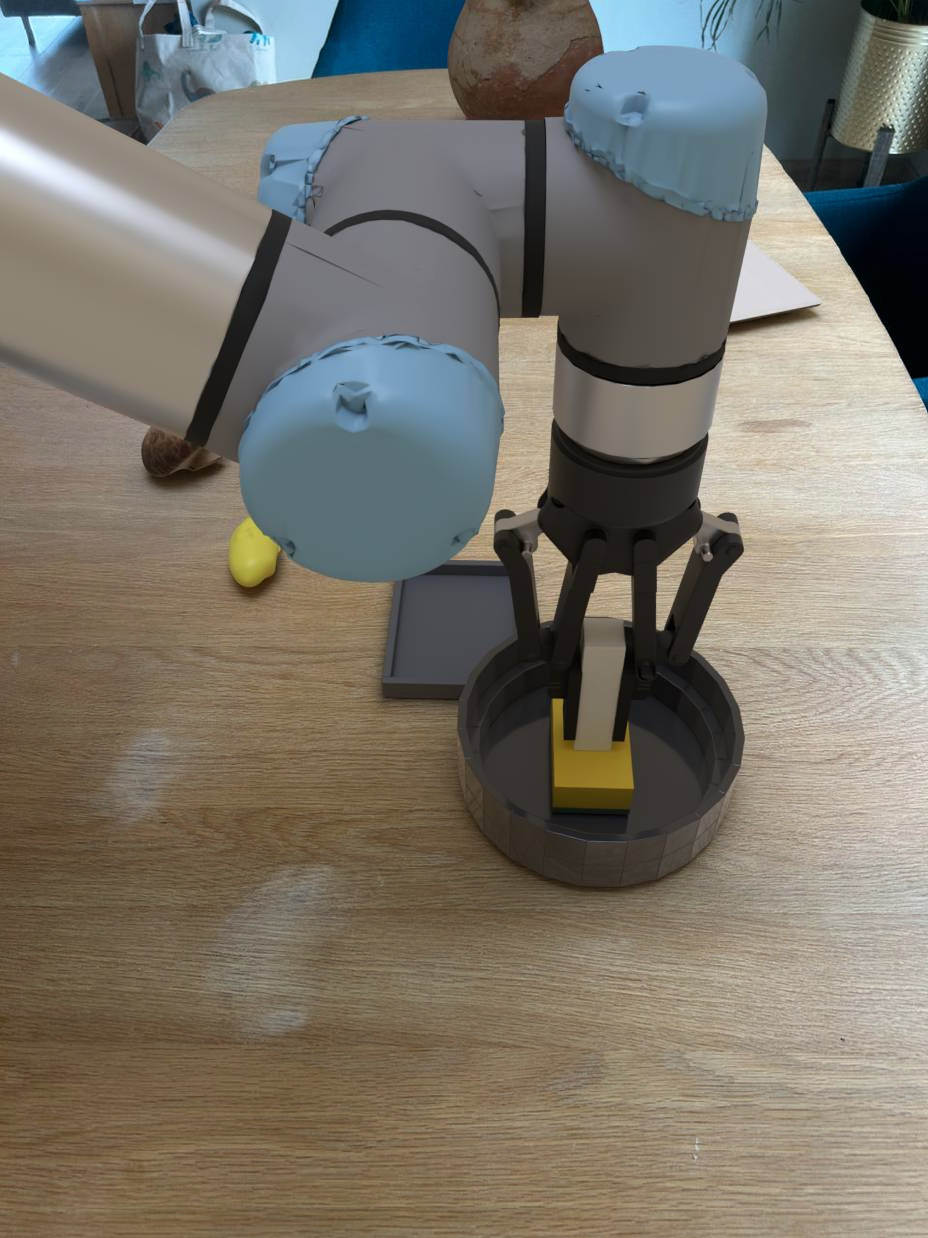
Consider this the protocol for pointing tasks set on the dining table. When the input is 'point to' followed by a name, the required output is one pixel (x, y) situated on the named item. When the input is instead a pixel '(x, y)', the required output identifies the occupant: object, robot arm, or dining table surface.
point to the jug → (520, 56)
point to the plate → (767, 289)
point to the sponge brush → (594, 730)
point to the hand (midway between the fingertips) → (593, 723)
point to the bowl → (661, 763)
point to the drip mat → (445, 627)
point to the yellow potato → (251, 554)
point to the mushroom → (172, 454)
